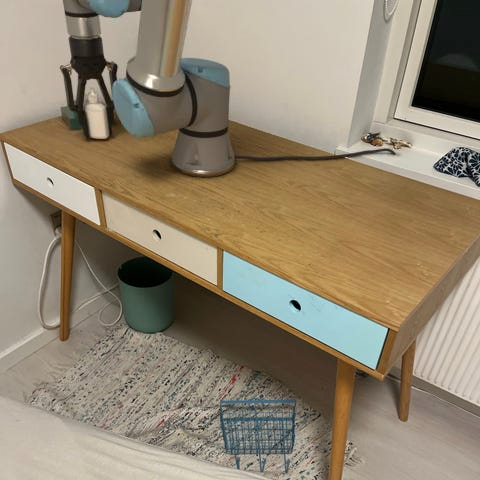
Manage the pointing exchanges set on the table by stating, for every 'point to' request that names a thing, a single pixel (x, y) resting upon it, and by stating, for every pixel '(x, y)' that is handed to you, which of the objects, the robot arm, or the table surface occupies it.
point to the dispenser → (73, 117)
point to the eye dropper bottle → (96, 117)
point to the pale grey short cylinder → (85, 99)
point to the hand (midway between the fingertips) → (98, 135)
